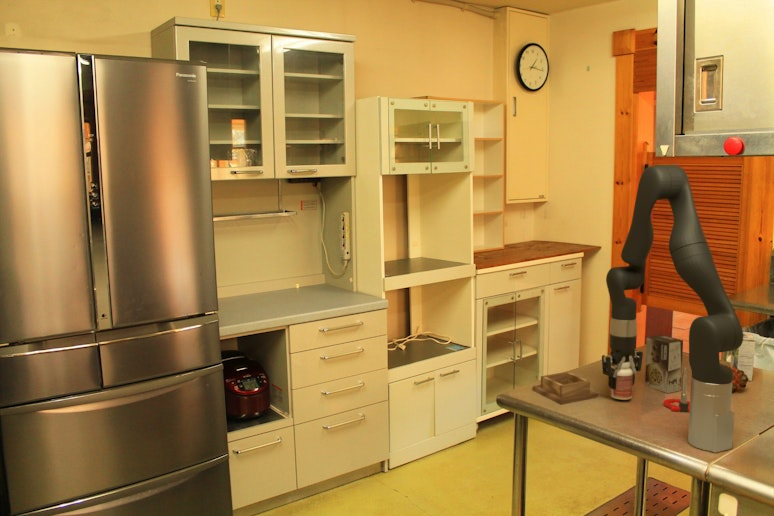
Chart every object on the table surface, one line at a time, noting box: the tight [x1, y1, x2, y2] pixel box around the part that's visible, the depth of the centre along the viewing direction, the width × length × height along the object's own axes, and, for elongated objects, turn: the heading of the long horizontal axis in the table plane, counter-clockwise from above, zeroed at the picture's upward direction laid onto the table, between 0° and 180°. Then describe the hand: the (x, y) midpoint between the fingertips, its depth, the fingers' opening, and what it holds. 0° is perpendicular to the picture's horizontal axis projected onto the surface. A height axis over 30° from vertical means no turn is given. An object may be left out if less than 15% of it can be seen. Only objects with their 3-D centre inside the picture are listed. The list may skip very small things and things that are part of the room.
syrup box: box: [729, 332, 756, 382], centre depth 214 cm, size 6×6×14 cm
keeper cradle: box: [532, 371, 599, 406], centre depth 203 cm, size 14×14×5 cm
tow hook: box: [663, 366, 690, 413], centre depth 191 cm, size 8×13×9 cm
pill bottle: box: [610, 362, 633, 401], centre depth 197 cm, size 6×6×11 cm
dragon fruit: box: [726, 365, 749, 392], centre depth 204 cm, size 8×8×12 cm
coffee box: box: [644, 334, 684, 394], centre depth 206 cm, size 9×6×16 cm
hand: (621, 386), depth 197 cm, fingers closed on pill bottle, 6 cm apart
